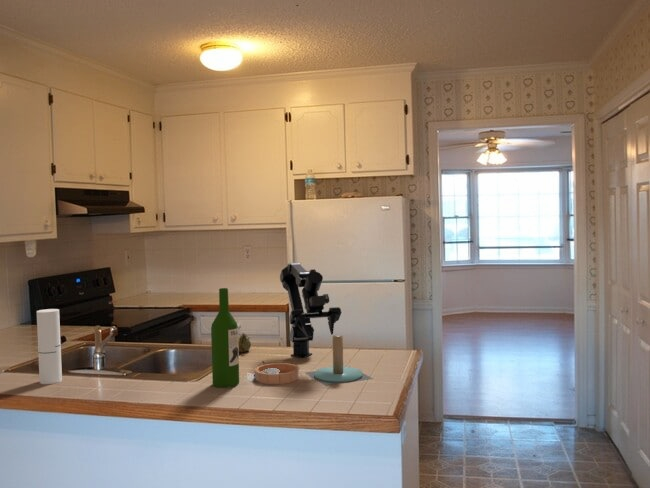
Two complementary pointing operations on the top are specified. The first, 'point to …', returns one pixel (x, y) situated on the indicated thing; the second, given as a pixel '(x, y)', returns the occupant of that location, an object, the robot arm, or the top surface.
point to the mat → (336, 382)
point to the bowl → (285, 375)
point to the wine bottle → (224, 345)
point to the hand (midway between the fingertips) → (320, 335)
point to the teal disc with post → (338, 366)
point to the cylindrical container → (49, 346)
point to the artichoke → (244, 343)
